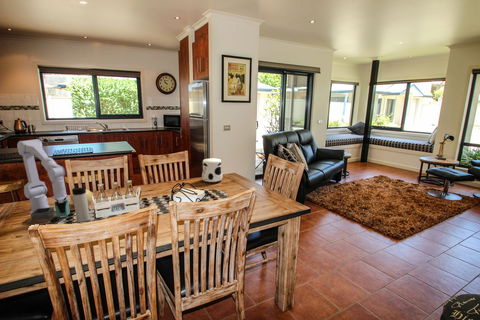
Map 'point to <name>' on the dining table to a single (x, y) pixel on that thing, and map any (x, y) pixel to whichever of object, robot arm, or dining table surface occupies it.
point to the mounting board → (41, 220)
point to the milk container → (212, 170)
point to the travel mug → (81, 204)
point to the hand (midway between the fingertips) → (62, 210)
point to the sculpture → (89, 197)
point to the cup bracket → (42, 213)
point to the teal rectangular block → (65, 210)
